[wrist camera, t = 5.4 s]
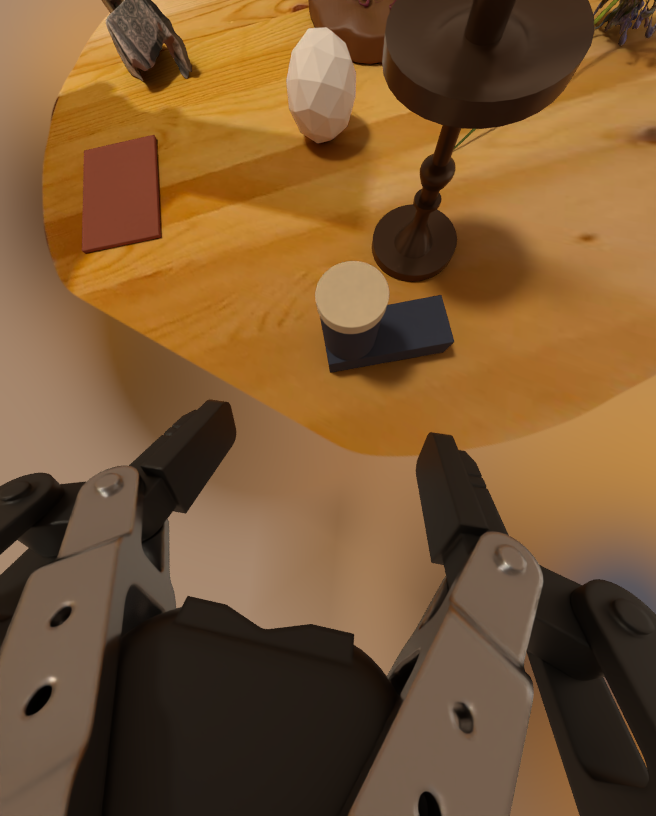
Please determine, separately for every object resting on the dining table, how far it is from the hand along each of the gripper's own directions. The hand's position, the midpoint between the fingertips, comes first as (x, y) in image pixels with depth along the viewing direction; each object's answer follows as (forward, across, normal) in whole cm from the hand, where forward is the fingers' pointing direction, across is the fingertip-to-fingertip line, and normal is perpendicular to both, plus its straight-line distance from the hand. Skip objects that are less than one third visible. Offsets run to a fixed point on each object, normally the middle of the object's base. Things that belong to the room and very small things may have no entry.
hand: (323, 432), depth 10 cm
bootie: (+18, -3, +2) cm, 19 cm away
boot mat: (+30, +32, -9) cm, 45 cm away
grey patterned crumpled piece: (+45, +33, -24) cm, 61 cm away
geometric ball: (+38, +7, -17) cm, 42 cm away
